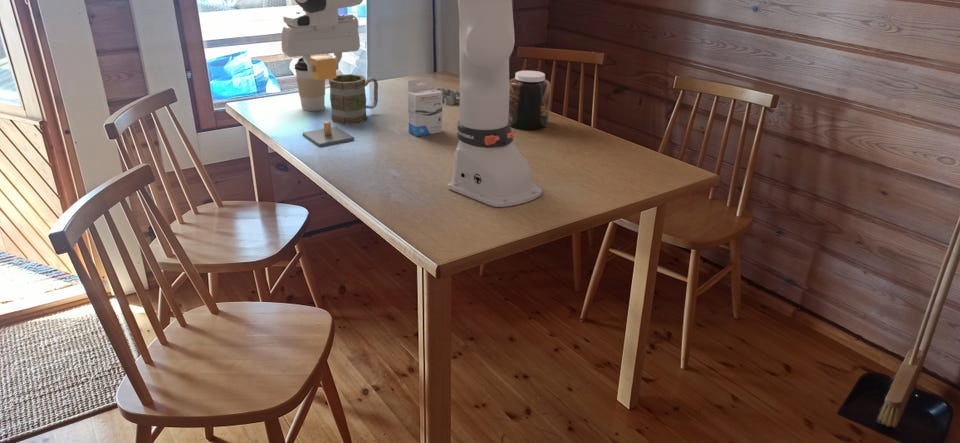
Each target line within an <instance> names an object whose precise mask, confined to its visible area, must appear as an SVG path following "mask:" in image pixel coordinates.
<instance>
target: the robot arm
mask: <svg viewBox="0 0 960 443" xmlns="http://www.w3.org/2000/svg"><path fill="white" fill-rule="evenodd" d="M294 1H295V3H296V4H297V5H298V6H299V7H300V8H297V9H295V10H293V11H290V12H287V13H285V14H284V15H283V17H282V18H283V23H284V24H285V25H284V26H283V27H282V30H281V50H282V54H284V55H285V56H287V57H289V58H295V57H301V58H303V60H304V61H305V63H306V64H307V69H308V72H309V73H312V72H316V70H315V65H313V64H311V63H310V61H309V60H310V59H311V57H312V56H320V55H328V54H329V55H330V54H333V56H335V57H334V59H336V71H338V70H339V69H340V68H339V64H340V61H341V60H342V59H343V53H349V52H350V53H352V52H353V53H354V52H358V51H359V49H360V48H361V42H360V41H361V40H360V34H359V19H358V17H356V16H354V15H353V14H347V15H346V14H339V9H342V8H351V7H356V6H358V5H360V4H362V2H363V0H294ZM457 7H458V8H457V9H458V20H459V31H458V32H459V42H458V44H459V91H460V103H459V120H458V122H457V127H456V133H457V135H456V136H457V139H458V143H457V146H456V149H455V150H454V154H453V162H452V172H451V174H452V175H451V180H449V182H448V184H447V189H448V190H451V191H454V192H455V193H459V194H460V195H463V196H466V197H468V198H471V199H473V200H476V201H479V202H481V203H484V204H486V205H488V206H491V207H494V208H499V207H500V208H504V207H511V206H516V205H521V204H524V203H527V202H530V201H533V200H535V199H537V198H538V197H541V195H542V194H543V191H542V188H540V187H539V186H538V185H537V184H535V183H534V182H532V169H531V167H530V163H529V160H528V159H527V158H525V157H523V155H522V154H521V152H520V151H519V149H518V147H517V146H516V145H515V143H514V138H515V137H516V135H515V134H516V133H517V132H516V131H512V127H510V123H509V122H508V118H509V94H510V85H509V82H510V57H511V55H512V53H513V51H514V49H515V48H514V47H515V40H516V39H515V26H514V25H515V24H514V13H513V12H514V11H513V2H512V0H457Z"/></svg>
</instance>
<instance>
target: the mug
mask: <svg viewBox="0 0 960 443" xmlns="http://www.w3.org/2000/svg"><path fill="white" fill-rule="evenodd" d="M371 81H373V102H372V104H371V105H368V104H367V95H366V87H368V85H369V84H370V82H371ZM328 82H329V84H328V85H329V101H330V106H331V108H330V109H331V116H330V117H331V120H332V121H331V122H333V123H337V124H342V125H352V124H353V125H354V124H360V122H361V123H363V122H365V121H366V120H368V116H367V109H374V108H376V107H377V105H378V103H379V102H378V100H379V99H378V98H379V83H378V80H377V78H375V77H372V76H369V77H367V78H365V76H364V75H360V74H353V73H349V74H336V78H335V79H328Z"/></svg>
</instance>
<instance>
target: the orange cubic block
mask: <svg viewBox="0 0 960 443" xmlns="http://www.w3.org/2000/svg"><path fill="white" fill-rule="evenodd" d="M310 63H311V64H313V65H315V70H316V72H312V73H310V75H311V76H312V77H313V78H315V79H317V80H325V81H326V80H329V79H335V78H336V75H337V70H336V59H335V57H332V56H330V55H328V54H323V55H312V56H311V59H310Z"/></svg>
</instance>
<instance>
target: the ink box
mask: <svg viewBox="0 0 960 443" xmlns="http://www.w3.org/2000/svg"><path fill="white" fill-rule="evenodd" d="M407 82H408V83H407V85H408V86H407V87H408V88H407V90H408V91H407V112H408V113H407V116H408V118H407V120H408V133H410V134H412V135H414V137H419V136H420V137H421V136H426V135H427V136H428V135H432V134H433V135H434V134H438V133H439V134H440V133H442V132H443V102H442V91H439V90H437V88H435V87H434V86H435V78H434V77H426V78H419V79H418V78H417V79H409V80H408V81H407ZM420 83H425V84H420ZM418 84H419V85H418Z"/></svg>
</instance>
